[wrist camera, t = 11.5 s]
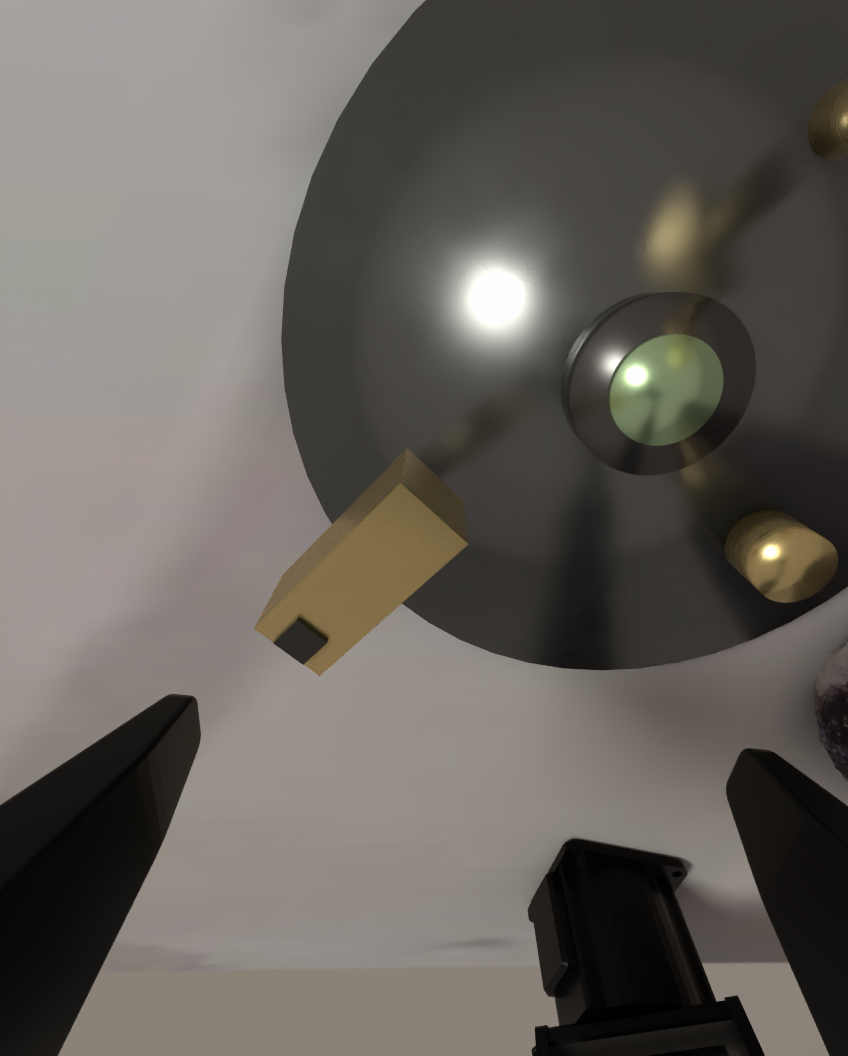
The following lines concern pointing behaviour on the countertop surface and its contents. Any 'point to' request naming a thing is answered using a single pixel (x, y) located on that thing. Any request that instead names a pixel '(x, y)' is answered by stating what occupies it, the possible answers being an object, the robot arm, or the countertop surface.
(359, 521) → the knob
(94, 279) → the countertop surface
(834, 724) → the crystal cluster
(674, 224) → the levelling plate
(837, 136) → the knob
